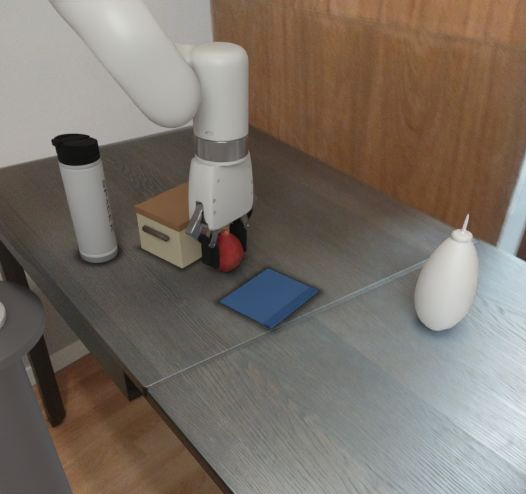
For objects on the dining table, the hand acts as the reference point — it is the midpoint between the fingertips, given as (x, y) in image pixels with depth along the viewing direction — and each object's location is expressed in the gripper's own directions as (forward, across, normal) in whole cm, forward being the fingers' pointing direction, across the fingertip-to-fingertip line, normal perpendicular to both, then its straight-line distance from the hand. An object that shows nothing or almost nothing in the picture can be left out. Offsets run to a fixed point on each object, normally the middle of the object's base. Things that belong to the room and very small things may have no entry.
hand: (224, 256), depth 86 cm
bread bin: (+3, -2, -11) cm, 12 cm away
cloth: (+3, +1, +10) cm, 10 cm away
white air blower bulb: (+3, -9, +33) cm, 34 cm away
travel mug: (+3, +10, -20) cm, 23 cm away
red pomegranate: (+3, 0, 0) cm, 3 cm away
